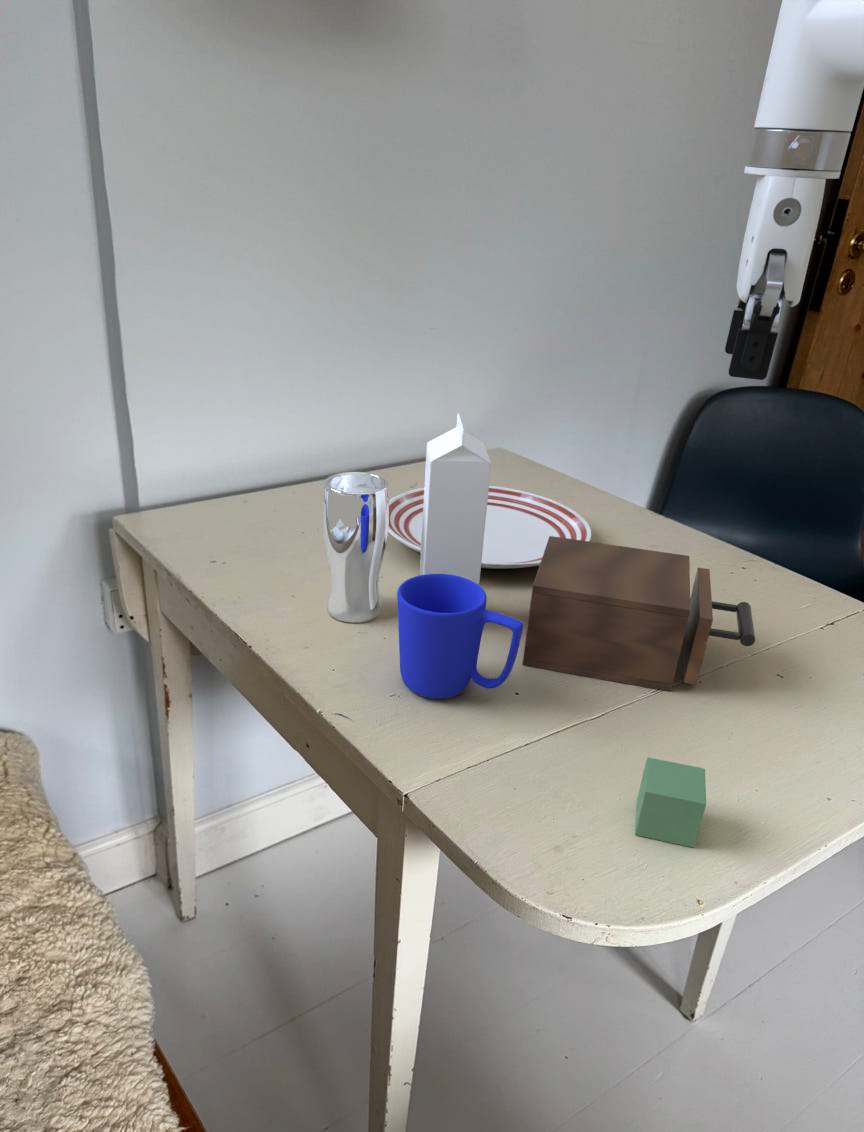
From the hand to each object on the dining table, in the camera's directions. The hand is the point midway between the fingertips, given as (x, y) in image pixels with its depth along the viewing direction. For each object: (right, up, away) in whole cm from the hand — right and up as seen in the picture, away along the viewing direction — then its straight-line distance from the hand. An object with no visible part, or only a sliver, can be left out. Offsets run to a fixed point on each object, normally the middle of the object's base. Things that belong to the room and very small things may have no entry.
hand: (743, 365), depth 81 cm
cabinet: (-11, -27, +11) cm, 30 cm away
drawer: (-6, -27, +9) cm, 29 cm away
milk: (-27, -23, +15) cm, 39 cm away
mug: (-27, -31, +3) cm, 41 cm away
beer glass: (-37, -23, +16) cm, 46 cm away
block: (-12, -40, -13) cm, 44 cm away
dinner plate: (-21, -13, +34) cm, 41 cm away
